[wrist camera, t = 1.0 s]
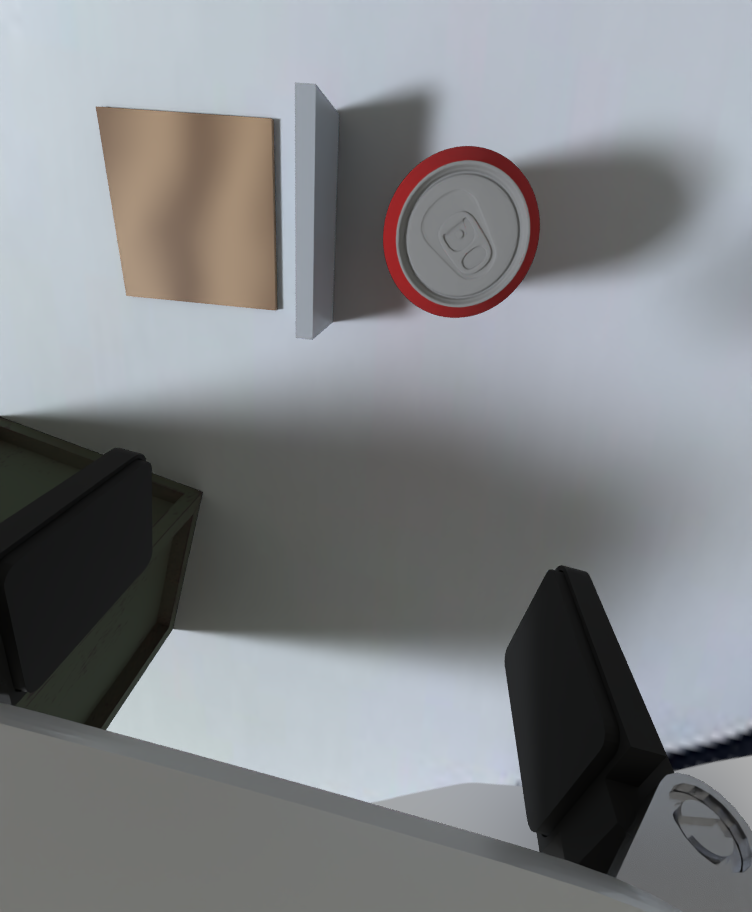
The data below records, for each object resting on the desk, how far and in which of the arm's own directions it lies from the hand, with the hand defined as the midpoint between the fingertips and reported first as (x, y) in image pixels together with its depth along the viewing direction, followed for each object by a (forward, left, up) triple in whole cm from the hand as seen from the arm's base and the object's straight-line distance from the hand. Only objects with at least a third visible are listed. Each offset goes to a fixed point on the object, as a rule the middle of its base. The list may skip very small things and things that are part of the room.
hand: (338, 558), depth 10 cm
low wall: (+6, -7, -24) cm, 26 cm away
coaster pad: (+15, -7, -24) cm, 29 cm away
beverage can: (-2, -7, -24) cm, 25 cm away
